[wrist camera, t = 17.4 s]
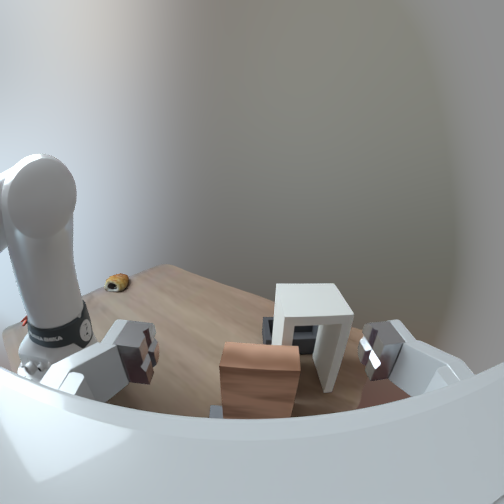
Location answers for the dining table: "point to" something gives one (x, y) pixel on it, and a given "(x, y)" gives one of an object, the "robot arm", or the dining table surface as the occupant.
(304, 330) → the bin
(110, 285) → the pastry
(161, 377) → the dining table surface
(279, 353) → the block
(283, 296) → the white arch frame
